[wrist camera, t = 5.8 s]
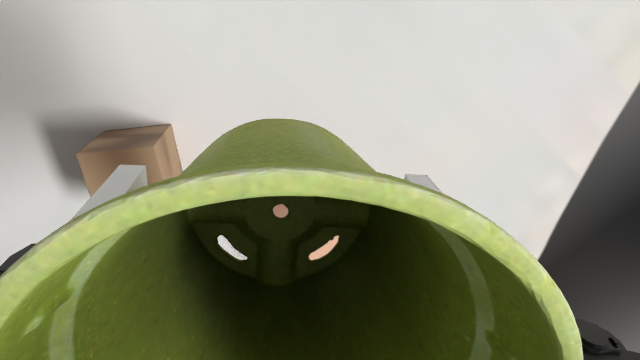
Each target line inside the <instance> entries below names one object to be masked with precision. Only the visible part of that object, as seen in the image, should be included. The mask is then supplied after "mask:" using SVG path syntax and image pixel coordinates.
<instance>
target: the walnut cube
mask: <svg viewBox="0 0 640 360" xmlns="http://www.w3.org/2000/svg"><path fill="white" fill-rule="evenodd" d="M76 157H77V160H78V163H79V165H80V168H81V171H82V174H83V177H84V180H85V182H86V185H87V188H88V191H89V194H90V196H91V197H92V196H93V194H94V193H95V192H96V191H97V190H98V189H99V188H100V187H101V185H102V184H103V183H104V182H105V181H106V180H107V179H108V177H109V176H110V175H111V174H112V173H113V172H114V171H115V170H116V168H117V167H118V166H119V165H146V173H147V184H148V185H150V184H153V183H156V182H159V181H163V180H166V179H169V178H173V177H177V176H179V175H180V174H181V173H182V172H183V171H182V167H181V163H180V158H179V154H178V150H177V146H176V142H175V138H174V134H173V129H172V125H171V124H167V125H157V126H148V127H138V128H128V129H119V130H109V131H104V132H103V133H101V134H100V135H99V136H98V137H96V138H95V139H94V140H93V141H91V142H90V143H89V144H88V145H87V146H85V147H84V148H83V149H82V150H80V151H79V152H78V153H77V154H76Z"/></svg>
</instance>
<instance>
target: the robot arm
mask: <svg viewBox="0 0 640 360" xmlns="http://www.w3.org/2000/svg"><path fill="white" fill-rule="evenodd" d="M404 180H406V181H409V182H412V183H415V184H418V185H421V186H424V187H427V188H430V189H432V190H435V191H438V192H440V193H442V192H441V191H440V190H439V189H438V187H437V186H436V185H435V184H434V183H433V182H432V180H431V179H430V178H429V177H428V176H427V175H410V174H405V178H404ZM147 185H148V184H147V173H146V165H119V166H118V167H117V168H116V170H115V171H114V172H113V173H112V174H111V175H110V176H109V177H108V179H107V180H106V181H105V182H104V183H103V184H102V185H101V187H100V188H99V189H98V190H97V191H96V192H95V193H94V194H93V196H92V197H91V198H90V199H89V200H88V201H87V202H86V203H85V205H84V206H83V207H82V208H81V209H80V210H79V211H78V212H77V214H76V215H75V216H74V217H73V218H72V219H71V220H73V219H74V218H76V217H77V216H79V215H81V214H83V213H85V212H87V211H89V210H91V209H93V208H95V207H97V206H99V205H101V204H103V203H105V202H106V201H109V200H111V199H114V198H116V197H119V196H121V195H123V194H126V193H128V192H131V191H133V190H136V189H138V188H141V187H144V186H147ZM71 220H70V221H71ZM70 221H69V222H70ZM34 245H36V244H31V245H29V246H27V247H25V248H24V249H22V250H20V251H18V252H17V253H15V254H13V255H11V256H10V257H9V258H8V259H7V260H6V261H5V262H4V263H3V264H2V265H1V266H0V276H1V275H2V274H3V273H4V272H5V271H6V270H7V269H8V268H9V267H10V266H12V265H13V264H14V263H15V262H16V261H17V260H18V259H20V258H21V257H22V256H23V255H24V254H25V253H26V252H28V251H29V250H30V249H31V248H32V247H33V246H34ZM575 321H576V324H577V327H578V329H579V333H580V337H581V342H582V351H583V360H640V353H636V352H631V351H627V350H626V349H625V347H624V346H623V345H622V343H621V342H620V341H619V340H618V339H617V338H615V337H614V336H613V335H612V334H611V333H609V332H608V331H606V330H604V329H603V328H601V327H599V326H597V325H595V324H592V323H589V322H587V321H584V320H581V319H575Z"/></svg>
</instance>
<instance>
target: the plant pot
mask: <svg viewBox="0 0 640 360" xmlns="http://www.w3.org/2000/svg"><path fill="white" fill-rule="evenodd" d="M279 204H283V205H285V207H286V208H288V214H287V215H286V216H285V217H282V218H281V217H277V216H276V215H275V214H274V212H273V208H274V207H275V206H276V205H279ZM219 235H223V236H224V237H225V238H226V239H227V240H228V241H229V242H230V243H231V245H232V246H233V247H234V248H235V249H236V250H238V251H239V253H242V254H243V255H245V256H247V257H248V258H247V260H239V259H237V258H235V257H233V256H232V255H230V254H229V253H228V252H226V251H225V250H224V249H223V248H222V247H221V246H220V245H219V244H218V240H217V238H218V236H219ZM335 236H339V237H338V242H337V243H336V245H335V246H334V247H333V249H332V250H331V251H330V252H328V253H327V254H326V255H324V256H322V257H321V258H319V259H314V260H310V258H309V255H310V254H311V253H312V252H315V251H316V250H318V249H319V248H321V247H322V246H324V245H325V244H327V243H328V241H330V240H333V239H334V237H335ZM0 360H583V351H582V342H581V337H580V333H579V329H578V327H577V324H576V321H575V319H574V316H573V313H572V311H571V309H570V307H569V305H568V303H567V301H566V299H565V298H564V296H563V294H562V292H561V291H560V289H559V288H558V286H557V285H556V284H555V282H554V281H553V280H552V278H551V277H550V276H549V274H548V273H547V271H546V270H545V269H544V268H543V267H542V265H541V264H540V263H539V262H538V261H537V260H536V259H535V258H534V257H533V256H532V255H531V254H530V253H529V252H528V251H527V250H526V249H525V248H524V247H523V246H522V245H521V244H520V243H519V242H518V241H516V240H515V239H514V238H513V237H512V236H510V235H509V234H508V233H507V232H506V231H504V230H503V229H502V228H500V227H499V226H498V225H496V224H495V223H494V222H492V221H491V220H489V219H488V218H486V217H484V216H483V215H481V214H480V213H478V212H476V211H475V210H473V209H471V208H470V207H468V206H466V205H465V204H463V203H461V202H459V201H457V200H455V199H453V198H451V197H449V196H447V195H445V194H443V193H440V192H438V191H435V190H432V189H430V188H427V187H424V186H421V185H418V184H415V183H412V182H409V181H406V180H403V179H400V178H397V177H394V176H391V175H387V174H382V173H378V172H376V171H375V170H374V169H373V168H371V167H370V166H369V165H368V164H367V163H366V162H365V161H364V160H363V159H362V158H361V157H360V156H359V155H358V154H357V153H355V152H354V151H353V150H352V149H351V148H350V147H349V146H348V145H346V144H345V143H344V142H343V141H342V140H341V139H339V138H338V137H337V136H335V135H334V134H332V133H331V132H329V131H327V130H326V129H324V128H322V127H320V126H317V125H315V124H312V123H309V122H304V121H299V120H292V119H262V120H256V121H252V122H249V123H245V124H243V125H241V126H238V127H236V128H234V129H232V130H230V131H229V132H227V133H225V134H223V135H222V136H221V137H219V138H218V139H217V140H216V141H214V142H213V143H212V144H211V145H210V146H209V147H208V148H207V149H206V150H205V151H204V152H202V153H201V154H200V155H199V156H198V157H197V158H196V159H195V160H194V161H193V162H192V163H191V165H190V166H189V167H188V168H187V169H185V170H184V171H183V172H182V173H181V174H180V175H179V176H177V177H173V178H169V179H166V180H163V181H159V182H156V183H153V184H150V185H147V186H144V187H141V188H138V189H136V190H133V191H131V192H128V193H126V194H123V195H121V196H119V197H116V198H114V199H111V200H109V201H106V202H105V203H103V204H101V205H99V206H97V207H95V208H93V209H91V210H89V211H87V212H85V213H83V214H81V215H79V216H77V217H76V218H74V219H73V220H71V221H70V222H68V223H66V224H65V225H63V226H62V227H60V228H59V229H57V230H56V231H54V232H53V233H51V234H50V235H48V236H47V237H46V238H44V239H43V240H41V241H40V242H38V243H37V244H36V245H34V246H33V247H32V248H31V249H30V250H29V251H28V252H26V253H25V254H24V255H23V256H22V257H21V258H20V259H18V260H17V261H16V262H15V263H14V264H13V265H12V266H10V267H9V268H8V269H7V270H6V271H5V272H4V273H3V274H2V275H1V276H0Z"/></svg>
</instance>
